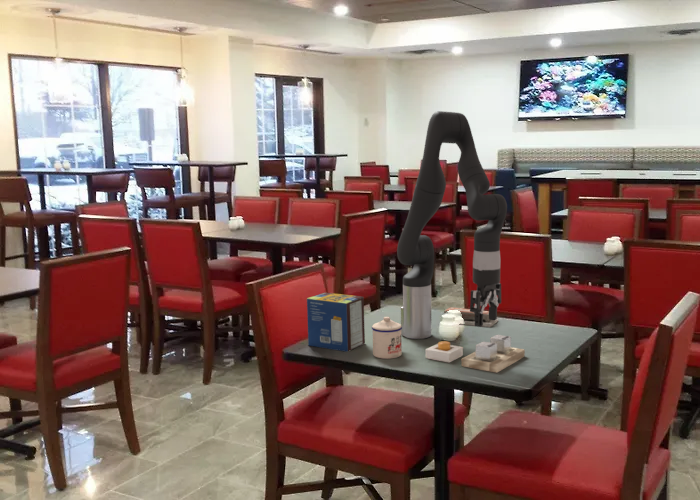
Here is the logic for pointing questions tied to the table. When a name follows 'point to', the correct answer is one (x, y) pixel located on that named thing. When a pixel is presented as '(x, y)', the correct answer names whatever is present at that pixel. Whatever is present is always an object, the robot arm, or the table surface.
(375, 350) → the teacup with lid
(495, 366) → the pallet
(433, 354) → the box
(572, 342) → the table surface
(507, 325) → the table surface
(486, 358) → the steel billet
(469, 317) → the packaged product
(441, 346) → the button
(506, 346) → the block
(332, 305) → the protein box
